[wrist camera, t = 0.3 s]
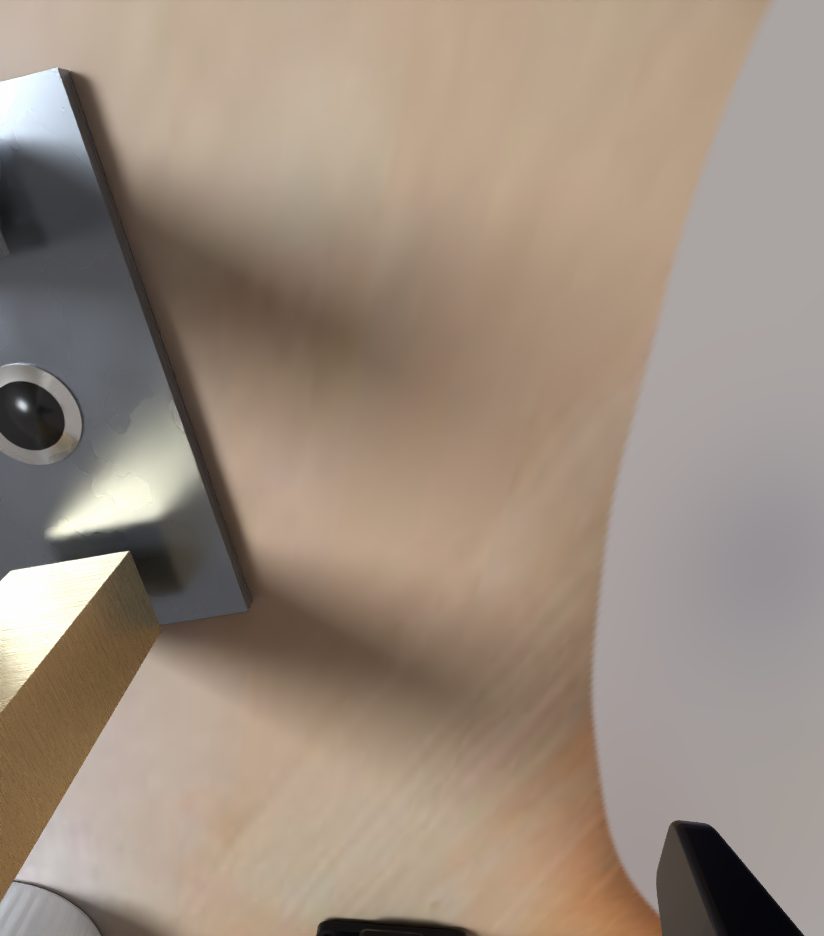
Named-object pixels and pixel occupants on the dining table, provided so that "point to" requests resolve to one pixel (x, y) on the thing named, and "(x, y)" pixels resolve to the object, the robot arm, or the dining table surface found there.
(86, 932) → the ramekin
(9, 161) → the bolt plate
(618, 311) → the dining table surface
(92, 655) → the sliding leg
